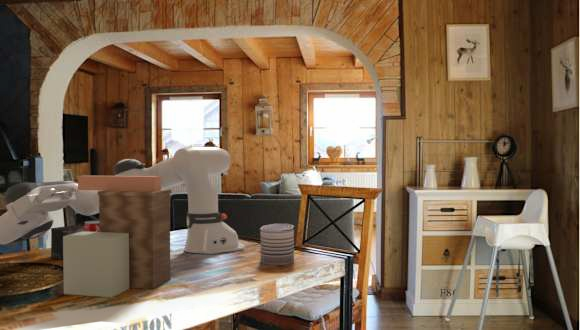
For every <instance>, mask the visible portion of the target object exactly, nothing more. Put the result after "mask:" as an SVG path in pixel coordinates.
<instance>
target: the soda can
mask: <svg viewBox="0 0 580 330" xmlns="http://www.w3.org/2000/svg"><path fill="white" fill-rule="evenodd" d="M83 226H84V227H83V231H85V232H100V225H99V220H89V221H88V220H87V221H84V225H83Z"/></svg>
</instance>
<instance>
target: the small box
mask: <svg viewBox="0 0 580 330" xmlns="http://www.w3.org/2000/svg"><path fill="white" fill-rule="evenodd" d="M83 227H84V225H80V224H74V225H66V226H59V227H51V228H50V231H51V235H50V239H51V240H50V241H51V242H50V253H51V254H50V258H53V259H55V260H62V261H63V236H66V235H70V234H74V233H79V232H83Z"/></svg>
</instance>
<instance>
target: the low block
mask: <svg viewBox="0 0 580 330" xmlns="http://www.w3.org/2000/svg"><path fill="white" fill-rule="evenodd" d="M62 261H63V262H62V263H63V265H62V266H63V268H62V269H63V294H64V295H75V296H87V297H88V296H89V297H101V298H102V297H104V298H113V297H116V296H117V295H120V294H121V293H123V292H126V291H127V290H130V288H129V233H111V232H85V231H83V232H79V233H74V234H70V235H66V236H63V259H62Z"/></svg>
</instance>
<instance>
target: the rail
mask: <svg viewBox="0 0 580 330" xmlns="http://www.w3.org/2000/svg"><path fill="white" fill-rule="evenodd" d="M77 183H78V190H103V191H160V190H161V176H115V175H77Z"/></svg>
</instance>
